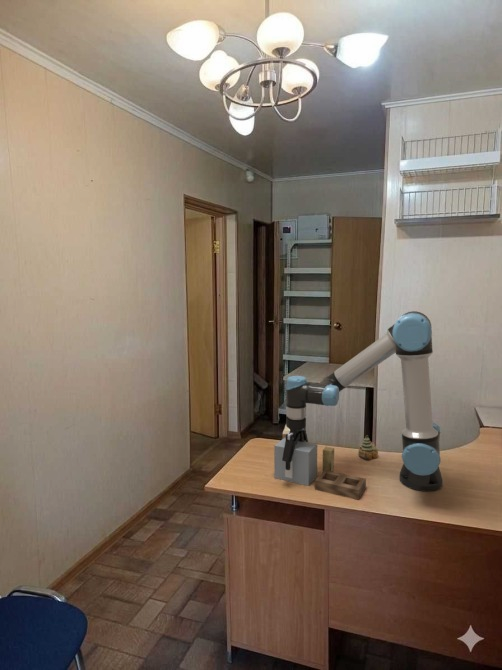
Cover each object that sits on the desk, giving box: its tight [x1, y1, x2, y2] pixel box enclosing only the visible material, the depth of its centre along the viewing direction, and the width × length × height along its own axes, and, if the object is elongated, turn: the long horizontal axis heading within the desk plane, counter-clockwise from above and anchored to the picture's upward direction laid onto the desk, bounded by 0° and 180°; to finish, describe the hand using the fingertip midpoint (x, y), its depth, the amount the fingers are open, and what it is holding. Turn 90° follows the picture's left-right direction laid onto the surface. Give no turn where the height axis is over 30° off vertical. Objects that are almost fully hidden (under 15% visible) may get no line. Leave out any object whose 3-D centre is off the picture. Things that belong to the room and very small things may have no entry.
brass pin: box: [322, 446, 335, 472], centre depth 170 cm, size 4×4×10 cm
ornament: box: [357, 434, 379, 461], centre depth 185 cm, size 8×6×10 cm
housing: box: [273, 438, 318, 487], centre depth 167 cm, size 14×9×13 cm, turn 61°
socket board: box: [314, 469, 367, 501], centre depth 158 cm, size 16×10×4 cm, turn 61°
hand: (295, 470), depth 168 cm, fingers open, 12 cm apart
